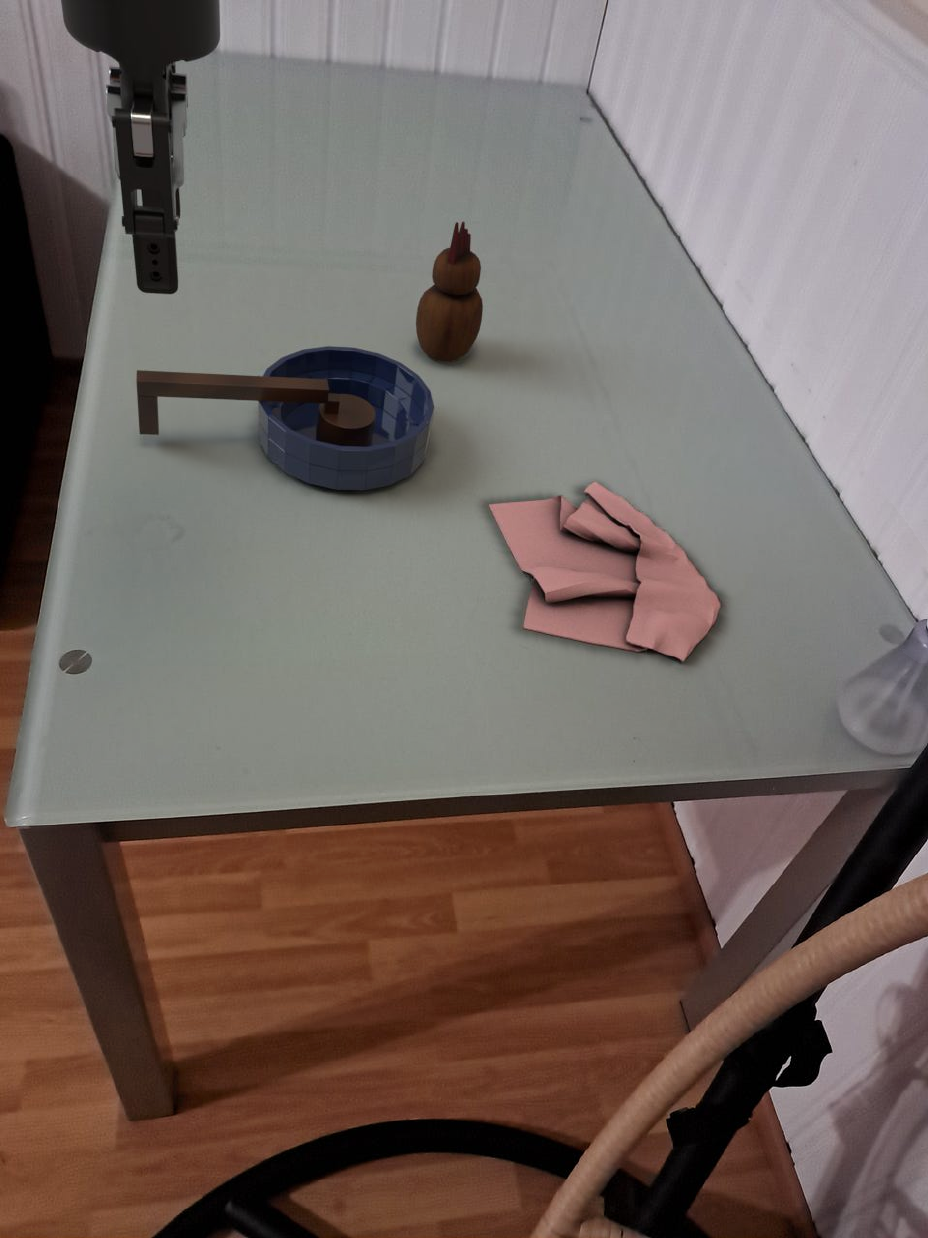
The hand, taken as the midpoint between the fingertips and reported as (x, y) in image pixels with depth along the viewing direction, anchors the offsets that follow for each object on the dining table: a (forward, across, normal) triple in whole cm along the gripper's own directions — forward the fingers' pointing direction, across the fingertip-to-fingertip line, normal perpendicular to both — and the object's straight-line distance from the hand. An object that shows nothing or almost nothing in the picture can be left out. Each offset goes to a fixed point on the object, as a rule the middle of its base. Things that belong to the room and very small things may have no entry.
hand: (160, 252), depth 57 cm
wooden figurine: (+26, -31, +26) cm, 48 cm away
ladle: (+25, -15, +7) cm, 30 cm away
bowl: (+26, -16, +14) cm, 33 cm away
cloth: (+26, +1, +35) cm, 44 cm away
